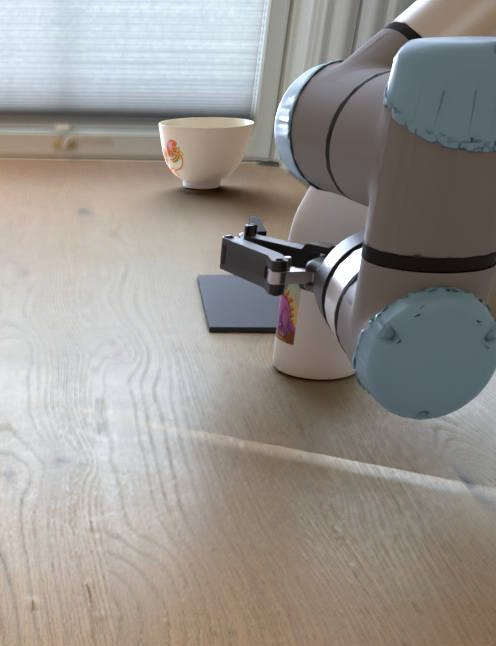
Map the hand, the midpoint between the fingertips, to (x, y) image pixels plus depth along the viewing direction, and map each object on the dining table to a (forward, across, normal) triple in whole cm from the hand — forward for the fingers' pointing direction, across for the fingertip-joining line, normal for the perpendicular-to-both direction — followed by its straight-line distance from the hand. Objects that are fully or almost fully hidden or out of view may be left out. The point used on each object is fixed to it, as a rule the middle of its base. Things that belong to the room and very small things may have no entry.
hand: (327, 232), depth 86 cm
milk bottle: (-3, 0, -11) cm, 12 cm away
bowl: (+96, -4, -11) cm, 97 cm away
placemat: (+19, 0, -11) cm, 22 cm away
